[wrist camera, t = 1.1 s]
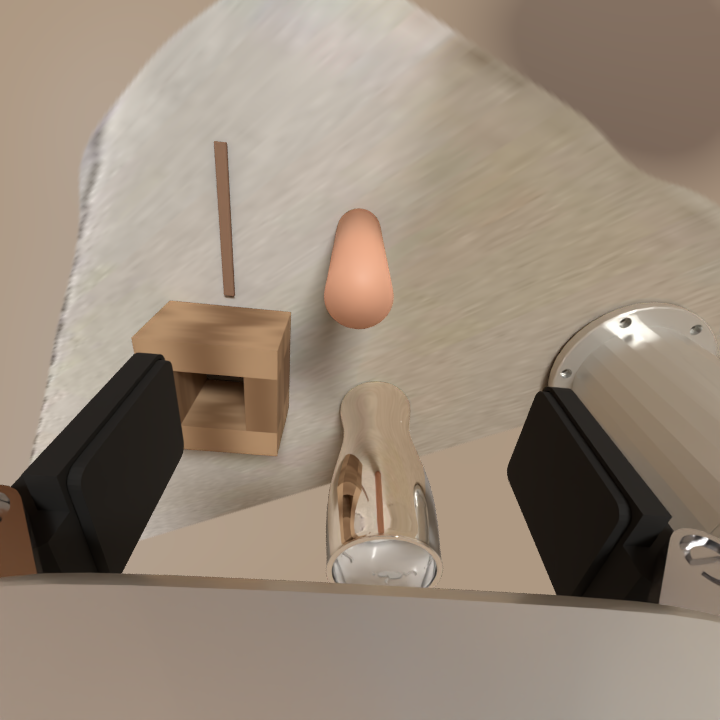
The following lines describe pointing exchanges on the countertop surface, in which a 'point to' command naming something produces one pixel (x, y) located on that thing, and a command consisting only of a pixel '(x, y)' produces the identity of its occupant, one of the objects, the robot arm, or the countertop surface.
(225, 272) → the brown thin square rod
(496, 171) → the countertop surface
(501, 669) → the robot arm
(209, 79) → the countertop surface
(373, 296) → the dowel
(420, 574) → the beer glass
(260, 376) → the wooden block with hole
